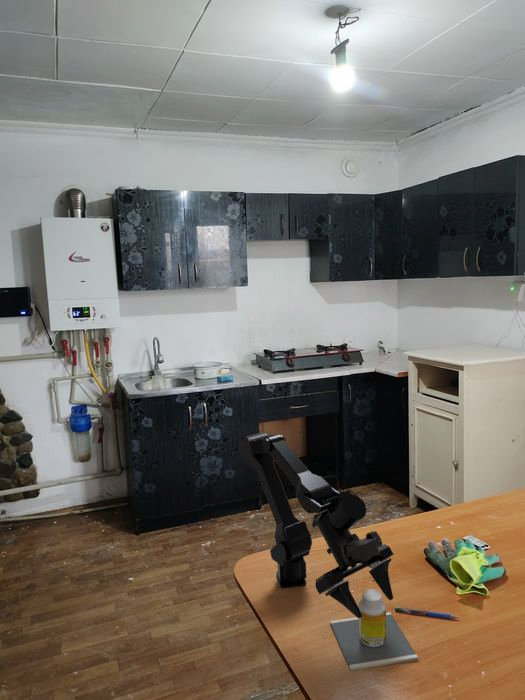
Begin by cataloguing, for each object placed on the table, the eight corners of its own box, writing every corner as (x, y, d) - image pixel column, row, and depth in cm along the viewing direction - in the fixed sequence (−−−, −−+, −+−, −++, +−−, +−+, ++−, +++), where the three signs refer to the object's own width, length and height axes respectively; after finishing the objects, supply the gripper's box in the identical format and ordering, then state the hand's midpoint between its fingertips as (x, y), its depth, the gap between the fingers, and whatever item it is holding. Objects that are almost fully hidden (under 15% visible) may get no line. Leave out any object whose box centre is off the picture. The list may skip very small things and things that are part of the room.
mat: (350, 670, 102) (350, 668, 102) (330, 623, 116) (330, 621, 116) (417, 659, 104) (418, 657, 104) (390, 614, 118) (390, 612, 118)
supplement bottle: (390, 647, 107) (389, 601, 106) (363, 650, 107) (362, 604, 105) (381, 628, 113) (380, 585, 111) (356, 631, 112) (355, 588, 111)
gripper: (323, 537, 104) (364, 616, 97) (387, 509, 114) (428, 579, 107) (299, 557, 112) (335, 631, 104) (361, 529, 122) (398, 595, 115)
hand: (376, 608), depth 107 cm, fingers open, 9 cm apart
